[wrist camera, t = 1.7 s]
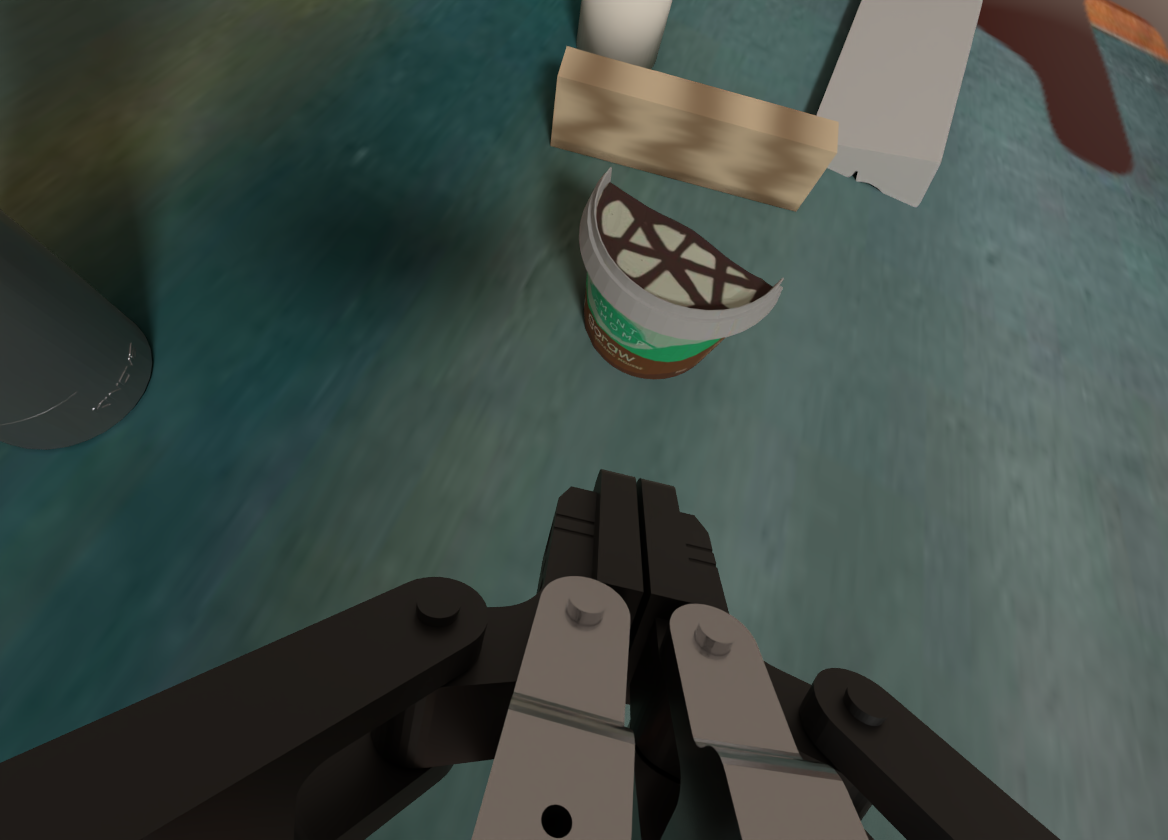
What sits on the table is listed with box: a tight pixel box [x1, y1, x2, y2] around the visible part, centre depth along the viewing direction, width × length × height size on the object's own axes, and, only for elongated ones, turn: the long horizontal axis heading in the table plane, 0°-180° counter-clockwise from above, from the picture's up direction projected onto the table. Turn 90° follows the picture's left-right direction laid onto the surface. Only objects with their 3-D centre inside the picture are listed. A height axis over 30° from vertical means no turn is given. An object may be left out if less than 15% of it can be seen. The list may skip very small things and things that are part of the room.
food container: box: [579, 167, 784, 379], centre depth 35 cm, size 12×6×10 cm, turn 56°
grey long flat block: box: [816, 0, 983, 208], centre depth 53 cm, size 34×5×10 cm
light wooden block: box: [550, 46, 839, 212], centre depth 43 cm, size 20×5×6 cm, turn 78°
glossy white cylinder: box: [576, 0, 672, 70], centre depth 46 cm, size 7×7×8 cm
